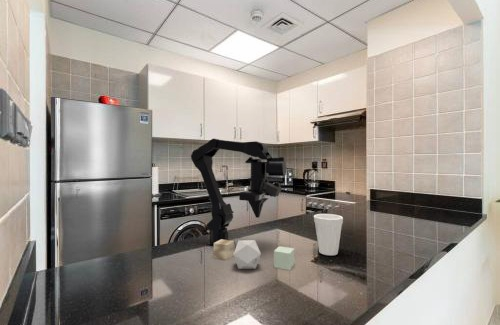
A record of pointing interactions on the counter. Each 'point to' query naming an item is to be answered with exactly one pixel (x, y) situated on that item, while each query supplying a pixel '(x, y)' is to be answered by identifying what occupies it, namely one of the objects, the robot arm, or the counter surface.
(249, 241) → the die
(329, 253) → the cup
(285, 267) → the sage block
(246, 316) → the counter surface
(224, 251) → the birch block
